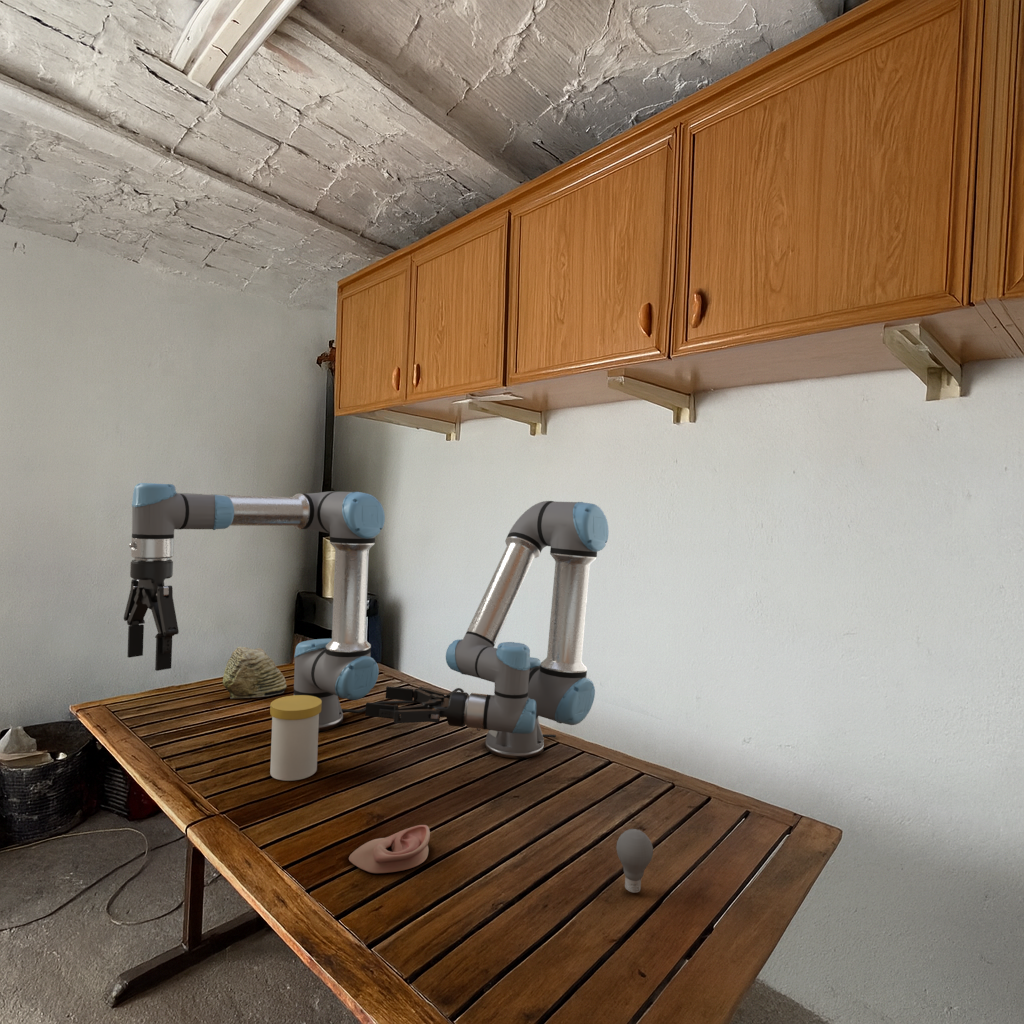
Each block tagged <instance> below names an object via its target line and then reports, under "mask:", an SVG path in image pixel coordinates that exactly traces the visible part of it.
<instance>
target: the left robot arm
mask: <svg viewBox="0 0 1024 1024" xmlns="http://www.w3.org/2000/svg"><path fill="white" fill-rule="evenodd" d="M385 515H386V513H385V511H384V508H383V505H382V503H381V502H380V501H379V500H378V498H377V497H375V495H373V494H370V493H367V492H363V491H362V492H361V491H337V490H336V491H335V490H333V491H332V490H330V491H321V492H311V493H295V494H294V495H293V496H276V495H275V496H274V495H273V496H272V495H248V494H247V495H246V494H244V495H243V494H220V493H219V494H218V493H217V494H216V493H215V494H214V493H189V492H187V493H186V492H177V491H176V486H175V485H174V484H173V483H152V482H139V483H137V484H136V485H135V486H134V488H133V492H132V501H131V520H132V521H131V542H130V543H128V547H129V548H130V549H131V550H130V556H131V558H133V559H132V560H131V561H130V567H129V568H130V571H129V574H130V575H129V576H130V578H131V581H130V590H129V594H128V598H127V603H126V607H125V610H124V615H123V621H124V622H126V624H127V626H128V629H127V630H128V631H127V658H135V657H142V656H144V635H145V634H144V630H145V625H144V624H145V623H146V621H145V619H144V618H145V616H146V615H147V612H148V609H149V610H151V613H152V618H153V620H154V624H155V627H156V631H157V633H156V635H155V636H154V638H155V661H154V663H155V665H154V668H155V669H154V670H155V671H157V672H159V671H164V670H169V669H172V659H173V657H172V655H173V637H175V636H176V635H179V632H180V631H179V625H178V619H177V615H176V614H177V613H176V609H175V603H174V597H173V595H174V593H173V585H165V580H167V579H171V578H172V577H173V575H174V573H173V572H174V561H173V560H172V559H171V558H173V557H174V554H175V553H174V552H175V530H213V531H215V530H224V529H228V528H230V526H233V527H234V526H237V527H238V526H240V527H243V526H246V527H247V526H249V527H250V526H258V527H259V526H268V527H269V526H276V527H277V526H282V527H284V526H285V527H286V526H287V527H288V526H289V527H290V526H291V527H293V528H294V529H296V530H308V531H309V530H310V531H316V532H319V533H325V534H329V544H330V545H331V546H332V547H333V548H334V550H335V551H334V572H333V573H334V577H333V599H332V625H331V626H332V627H331V638H317V639H308V640H304V641H300V642H299V643H297V645H296V646H295V650H294V655H293V657H294V672H293V673H294V674H293V695H309V696H314V697H318V698H320V699H321V701H322V707H321V712H320V713H319V727H318V732H325V731H329V730H332V729H335V728H337V727H339V726H340V725H342V723H343V722H344V713H351V714H360V713H365V711H366V706H365V707H363V708H361V709H350V708H342V706H341V702H340V699H339V698H341V699H342V700H343V699H344V700H348V701H349V700H350V701H357V700H360V699H362V698H364V697H365V696H367V695H368V694H370V692H371V690H372V689H374V687H375V685H376V683H377V682H378V678H379V674H380V672H379V671H380V670H379V669H380V668H379V665H378V663H377V662H376V660H375V659H374V657H371V652H372V649H371V648H372V644H371V643H370V642H368V640H367V639H366V631H367V607H368V606H367V605H368V604H367V602H368V582H369V581H368V579H369V555H370V553H369V552H370V550H371V548H372V547H374V545H375V544H376V536H378V535H379V534H380V533H381V530H383V528H384V526H385V522H386V521H385V520H386V516H385ZM454 691H457V692H465V690H464V689H463V688H460V687H456V688H454V689H453V690H452V691H451V692H449V693H448V694H451V693H452V692H454ZM413 701H414V699H413ZM413 701H405V700H385V701H384V700H383V701H376V702H375V703H377V704H387V705H395V704H397V705H398V704H399V705H401V704H403V705H404V704H421V703H420V702H416V703H415V702H414V703H413Z"/></svg>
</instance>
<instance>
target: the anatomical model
mask: <svg viewBox="0 0 1024 1024" xmlns="http://www.w3.org/2000/svg"><path fill="white" fill-rule="evenodd" d="M430 838H431V830H430V827H429V826H428V825H427V824H419V825H413V826H411V827H409V828H405V829H403V830H400V831H398V832H396V833H393V834H391V835H389V836H386V837H379V838H375V839H372V840H369V841H367V842H365V843H364V844H362V845H360V846H358V848H356V849H355V850H353V852H352V853H350V855H349V857H348V860H349V862H350V863H351V864H352V865H354V866H356V867H357V868H358V869H361V870H363V871H365V872H367V873H369V874H370V873H371V874H387V873H388V874H389V873H396V872H401V871H405V870H409V869H412V868H415V867H418V866H419V865H421V864H422V863H425V861H426V860H427V859H428V856H429V842H430Z"/></svg>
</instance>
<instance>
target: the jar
mask: <svg viewBox="0 0 1024 1024" xmlns="http://www.w3.org/2000/svg"><path fill="white" fill-rule="evenodd" d="M318 727H319V714H317V715H315V716H313V717H310V718H305V719H298V720H284V719H278V718H275V717H273V716H271V741H270V742H271V743H270V765H269V766H270V767H269V768H270V769H269V770H270V771H269V773H270V774H269V775H270V776H271V777H272V778H273V779H275V780H279V781H284V782H285V781H287V782H289V781H290V782H291V781H300V780H304V779H307V778H309V777H311V776H313V775H314V774H315V773H316V772H317V771H318V750H319V731H318Z"/></svg>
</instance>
